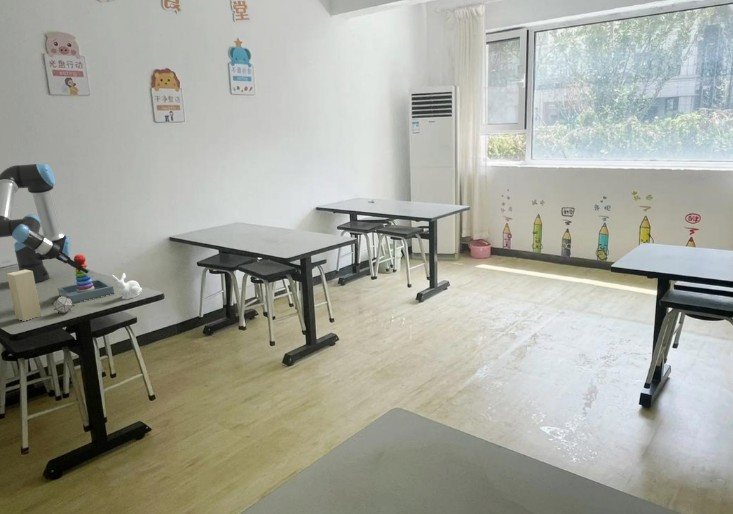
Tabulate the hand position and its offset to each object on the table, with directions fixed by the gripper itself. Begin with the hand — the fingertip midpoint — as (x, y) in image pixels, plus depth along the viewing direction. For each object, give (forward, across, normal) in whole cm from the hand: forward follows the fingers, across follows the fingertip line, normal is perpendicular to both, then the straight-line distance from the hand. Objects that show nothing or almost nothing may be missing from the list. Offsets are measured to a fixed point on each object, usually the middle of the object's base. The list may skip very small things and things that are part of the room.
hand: (90, 274), depth 270 cm
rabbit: (+14, +21, 0) cm, 25 cm away
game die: (-6, +21, -20) cm, 30 cm away
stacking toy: (+3, 0, -8) cm, 9 cm away
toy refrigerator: (-15, +15, -29) cm, 36 cm away
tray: (+4, 0, -10) cm, 10 cm away
